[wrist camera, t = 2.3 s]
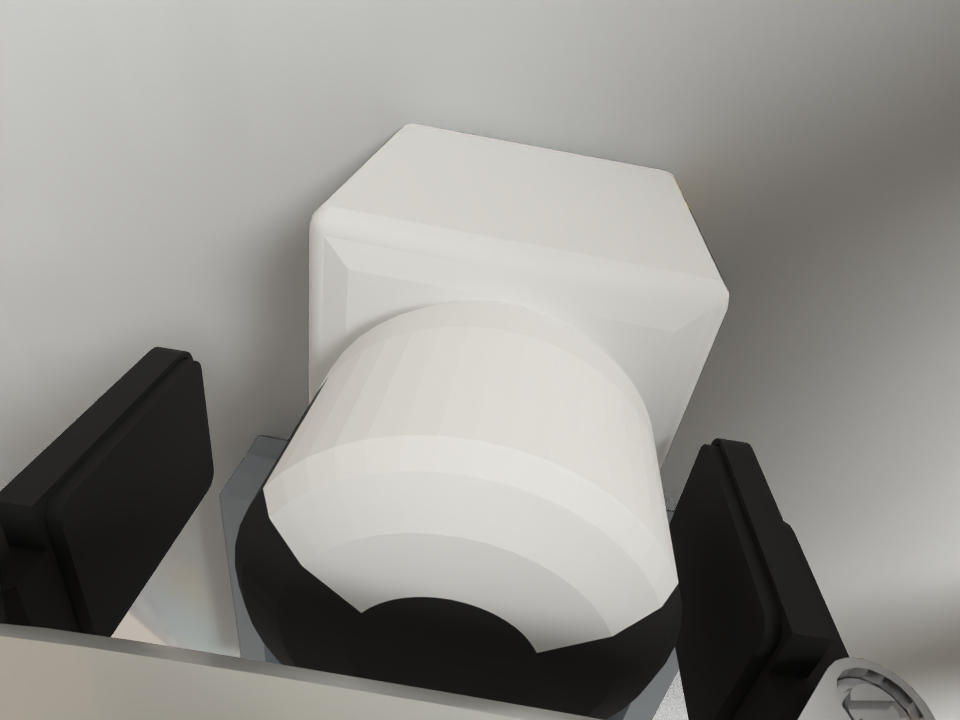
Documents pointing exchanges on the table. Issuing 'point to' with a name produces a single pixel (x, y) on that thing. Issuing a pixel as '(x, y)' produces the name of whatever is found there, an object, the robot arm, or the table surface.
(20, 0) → the table surface
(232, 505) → the tray
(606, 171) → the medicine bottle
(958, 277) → the table surface
